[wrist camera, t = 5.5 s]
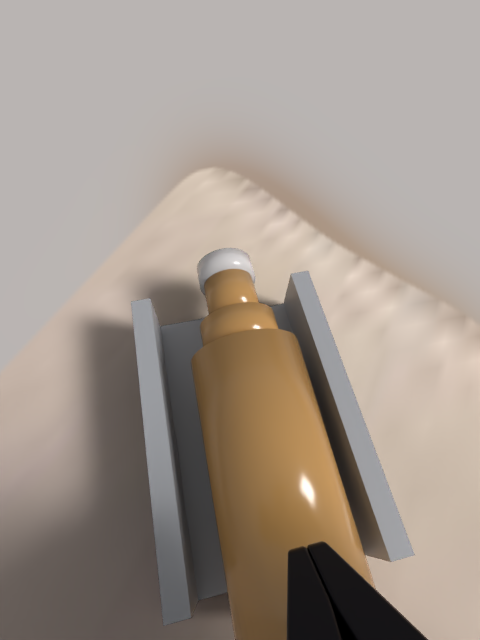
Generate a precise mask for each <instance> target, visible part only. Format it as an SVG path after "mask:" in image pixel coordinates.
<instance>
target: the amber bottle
mask: <svg viewBox="0 0 480 640" xmlns="http://www.w3.org/2000/svg"><path fill="white" fill-rule="evenodd" d="M197 273H198V278H199V284H200V289H201V291H202V293H203V294H204V295H205V297H206V302H207V307H208V312H209V315H208V316H207V317H205V318H204V320H203V321H202V322H201V324H200V333H201V339H202V344H203V347H202V348H201V349H200V350H198V351H197V352H196V353H195V354H194V356H193V357H192V359H191V369H192V375H193V381H194V388H195V394H196V400H197V406H198V413H199V419H200V425H201V431H202V437H203V444H204V450H205V456H206V462H207V469H208V475H209V481H210V487H211V494H212V500H213V506H214V512H215V518H216V525H217V531H218V537H219V543H220V550H221V556H222V562H223V568H224V575H225V581H226V587H227V593H228V599H229V606H230V612H231V618H232V624H233V631H234V637H235V640H287V574H288V551H289V550H290V549H294V548H298V547H301V546H305V547H306V548H307V546H308V545H309V544H313V543H316V542H320V541H324V542H326V543H327V544H328V545H329V546H330V547H331V548H333V549H334V550H335V551H336V552H337V553H338V554H339V555H340V556H341V557H342V558H343V559H344V560H345V561H346V562H347V563H348V564H349V565H350V566H351V567H352V568H354V569H355V570H356V571H357V572H358V573H359V574H360V575H361V576H362V577H363V578H364V579H365V580H366V581H367V582H368V583H369V584H370V585H371V586H372V587H373V588H374V589H376V588H375V585H374V582H373V579H372V575H371V572H370V569H369V566H368V563H367V559H366V556H365V553H364V550H363V547H362V543H361V540H360V537H359V534H358V531H357V527H356V524H355V521H354V518H353V515H352V512H351V508H350V505H349V502H348V499H347V496H346V492H345V489H344V486H343V483H342V480H341V476H340V473H339V470H338V467H337V464H336V460H335V457H334V454H333V451H332V448H331V445H330V441H329V438H328V435H327V432H326V429H325V425H324V422H323V419H322V416H321V413H320V409H319V406H318V403H317V400H316V397H315V394H314V390H313V387H312V384H311V381H310V378H309V374H308V371H307V368H306V365H305V362H304V358H303V355H302V352H301V349H300V346H299V342H298V339H297V337H296V336H295V335H294V334H293V333H291V332H289V331H286V330H281V329H278V325H277V322H276V318H275V315H274V311H273V310H272V308H271V307H269V306H268V305H265V304H262V303H259V301H258V298H257V294H256V291H255V287H254V282H255V274H254V271H253V267H252V263H251V260H250V257H249V255H248V254H247V253H246V252H244V251H243V250H240V249H236V248H224V249H219V250H215V251H213V252H211V253H209V254H207V255H205V256H204V257H203V258H202V259H201V260H200V261H199V263H198V265H197Z"/></svg>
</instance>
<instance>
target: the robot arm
mask: <svg viewBox="0 0 480 640" xmlns="http://www.w3.org/2000/svg"><path fill="white" fill-rule="evenodd" d="M287 640H428V639H427V638H426V637H425V636H424V635H423V634H422V633H421V632H420V631H419V630H417V629H416V628H415V627H414V626H413V625H412V624H411V623H410V622H409V621H408V620H407V619H406V618H405V617H404V616H403V615H402V614H401V613H400V612H399V611H398V610H397V609H395V608H394V607H393V606H392V605H391V604H390V603H389V602H388V601H387V600H386V599H385V598H384V597H383V596H382V595H381V594H380V593H379V592H378V591H377V590H376V589H374V588H373V587H372V586H371V585H370V584H369V583H368V582H367V581H366V580H365V579H364V578H363V577H362V576H361V575H360V574H359V573H358V572H357V571H356V570H355V569H354V568H352V567H351V566H350V565H349V564H348V563H347V562H346V561H345V560H344V559H343V558H342V557H341V556H340V555H339V554H338V553H337V552H336V551H335V550H334V549H333V548H331V547H330V546H329V545H328V544H327V543H326V542H324V541H320V542H316V543H313V544H309V545H308V546H307V548H306V547H305V546H301V547H298V548H294V549H290V550H289V551H288V574H287Z"/></svg>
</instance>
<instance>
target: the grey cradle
mask: <svg viewBox="0 0 480 640" xmlns="http://www.w3.org/2000/svg"><path fill="white" fill-rule="evenodd" d="M131 306H132V316H133V326H134V336H135V346H136V356H137V366H138V376H139V386H140V396H141V406H142V416H143V426H144V436H145V446H146V456H147V466H148V476H149V486H150V496H151V506H152V516H153V526H154V536H155V546H156V556H157V566H158V576H159V586H160V596H161V606H162V616H163V626H165V625H168V624H172V623H175V622H179V621H183V620H186V619H190V618H192V615H193V613H194V610H195V607H196V605H197V602H198V600H202V599H205V598H209V597H213V596H216V595H220V594H224V593H227V587H226V581H225V575H224V568H223V562H222V556H221V550H220V543H219V537H218V531H217V525H216V518H215V512H214V506H213V500H212V494H211V487H210V481H209V475H208V469H207V462H206V456H205V450H204V444H203V437H202V431H201V425H200V419H199V413H198V406H197V400H196V394H195V388H194V381H193V375H192V369H191V359H192V357H193V356H194V354H195V353H196V352H197V351H198V350H200V349H201V348H202V347H203V344H202V339H201V333H200V324H201V322H202V321H203V320H204V318H203V319H198V320H192V321H187V322H181V323H176V324H170V325H165V326H160V324H159V321H158V318H157V315H156V313H155V310H154V307H153V305H152V302H151V299H150V298H149V299H143V300H137V301H132V302H131ZM269 307H271V308H272V310H273V311H274V315H275V318H276V322H277V325H278V329H281V330H286V331H289V332H291V333H293V334H294V335H295V336H296V337H297V339H298V342H299V346H300V349H301V352H302V355H303V358H304V362H305V365H306V368H307V371H308V374H309V378H310V381H311V384H312V387H313V390H314V394H315V397H316V400H317V403H318V406H319V409H320V413H321V416H322V419H323V422H324V425H325V429H326V432H327V435H328V438H329V441H330V445H331V448H332V451H333V454H334V457H335V460H336V464H337V467H338V470H339V473H340V476H341V480H342V483H343V486H344V489H345V492H346V496H347V499H348V502H349V505H350V508H351V512H352V515H353V518H354V521H355V524H356V527H357V531H358V534H359V537H360V540H361V543H362V547H363V550H364V553H365V555H367V556H371V557H375V558H378V559H382V560H386V561H390V562H392V561H396V560H399V559H403V558H406V557H410V556H414V555H415V554H414V552H413V549H412V546H411V544H410V541H409V538H408V536H407V533H406V530H405V528H404V525H403V522H402V520H401V517H400V514H399V512H398V509H397V506H396V504H395V501H394V498H393V496H392V493H391V490H390V488H389V485H388V482H387V480H386V477H385V474H384V472H383V469H382V466H381V464H380V461H379V458H378V456H377V453H376V450H375V448H374V445H373V442H372V440H371V437H370V434H369V432H368V429H367V426H366V424H365V421H364V418H363V416H362V413H361V410H360V408H359V405H358V402H357V400H356V397H355V394H354V392H353V389H352V386H351V384H350V381H349V378H348V376H347V373H346V370H345V368H344V365H343V362H342V360H341V357H340V354H339V352H338V349H337V346H336V344H335V341H334V338H333V336H332V333H331V330H330V328H329V325H328V322H327V320H326V317H325V314H324V312H323V309H322V306H321V304H320V301H319V298H318V296H317V293H316V290H315V288H314V285H313V282H312V280H311V277H310V274H309V272H308V271H304V272H299V273H293V274H291V276H290V280H289V284H288V288H287V292H286V296H285V300H284V304H280V305H274V306H269Z"/></svg>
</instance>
